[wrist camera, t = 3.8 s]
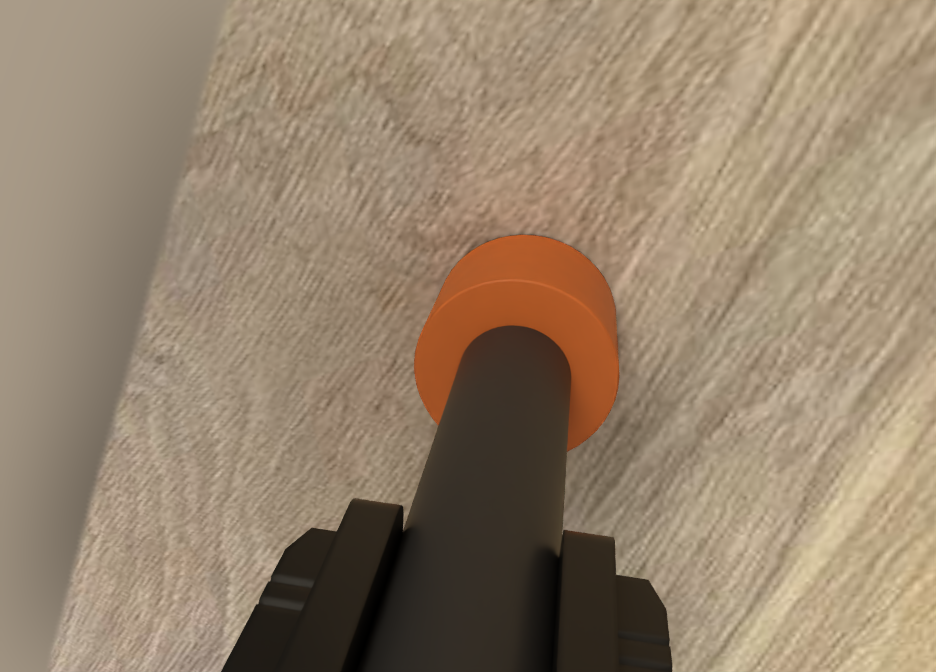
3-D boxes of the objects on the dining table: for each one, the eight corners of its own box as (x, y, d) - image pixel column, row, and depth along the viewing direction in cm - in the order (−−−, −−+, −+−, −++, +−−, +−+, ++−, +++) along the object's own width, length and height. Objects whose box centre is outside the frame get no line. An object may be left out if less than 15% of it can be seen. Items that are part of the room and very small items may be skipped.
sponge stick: (407, 275, 20) (86, 813, 7) (574, 205, 19) (529, 714, 6) (483, 419, 21) (323, 1076, 9) (643, 364, 20) (722, 1045, 7)
